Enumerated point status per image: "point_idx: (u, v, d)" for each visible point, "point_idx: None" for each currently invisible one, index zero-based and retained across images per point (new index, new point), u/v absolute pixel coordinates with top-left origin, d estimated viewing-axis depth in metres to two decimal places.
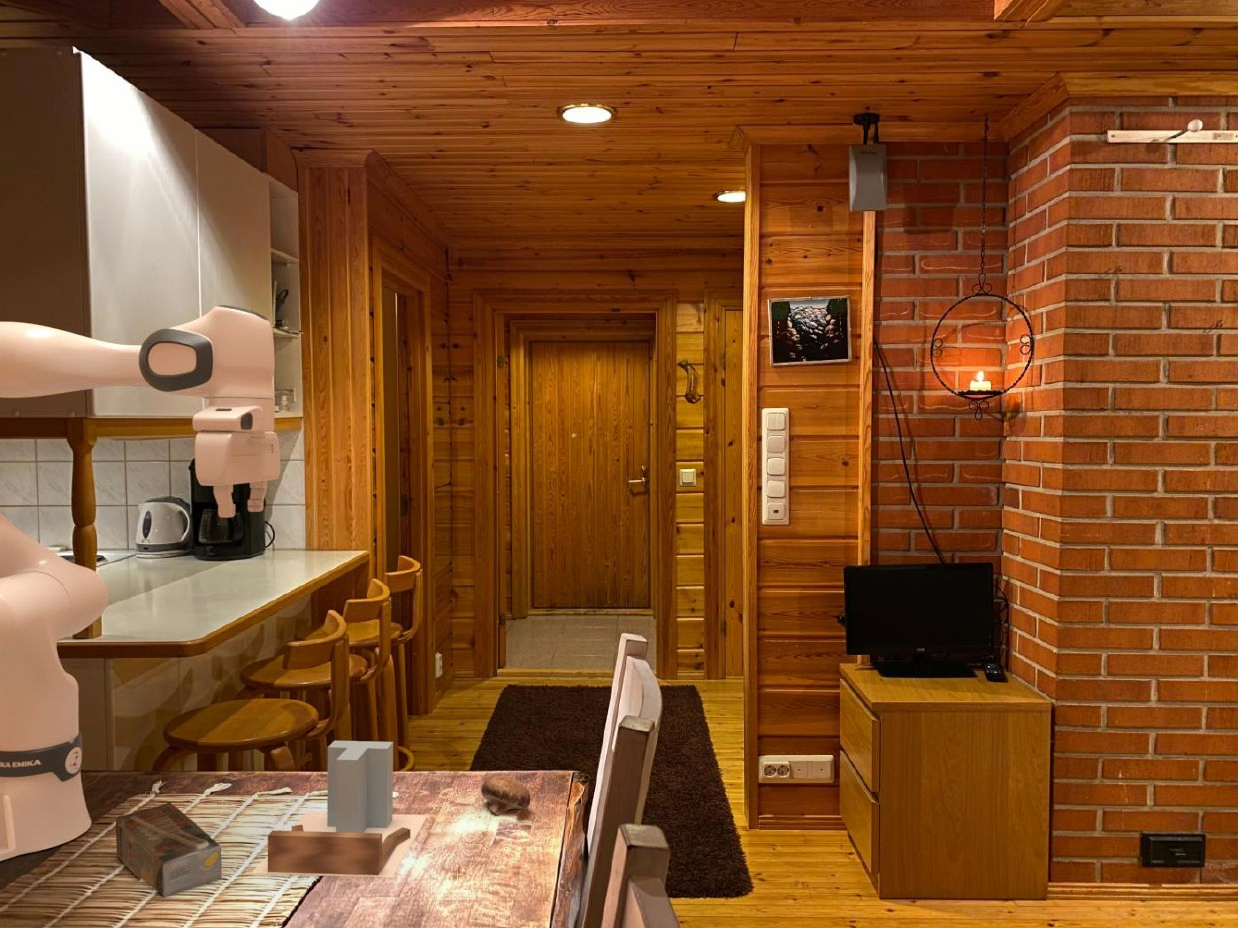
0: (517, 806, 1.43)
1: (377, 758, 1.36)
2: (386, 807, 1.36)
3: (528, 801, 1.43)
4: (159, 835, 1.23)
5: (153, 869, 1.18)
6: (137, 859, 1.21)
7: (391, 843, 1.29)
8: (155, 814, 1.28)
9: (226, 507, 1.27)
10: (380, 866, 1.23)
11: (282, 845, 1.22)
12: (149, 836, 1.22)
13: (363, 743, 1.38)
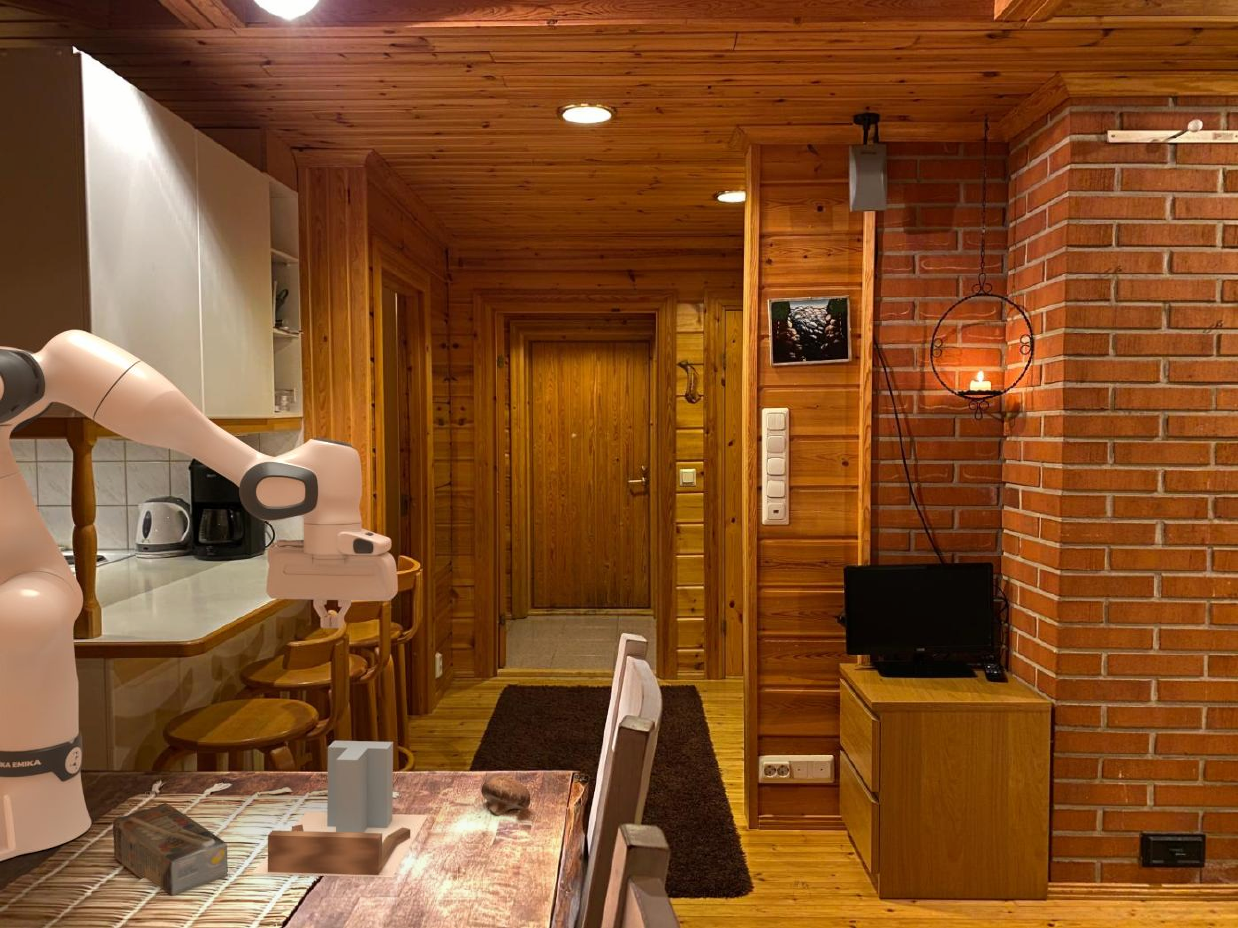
0: (517, 806, 1.43)
1: (377, 758, 1.36)
2: (386, 807, 1.36)
3: (528, 801, 1.43)
4: (162, 834, 1.23)
5: (159, 868, 1.18)
6: (140, 859, 1.21)
7: (391, 843, 1.29)
8: (154, 814, 1.28)
9: (342, 618, 1.45)
10: (380, 866, 1.23)
11: (282, 845, 1.22)
12: (152, 836, 1.22)
13: (363, 743, 1.38)
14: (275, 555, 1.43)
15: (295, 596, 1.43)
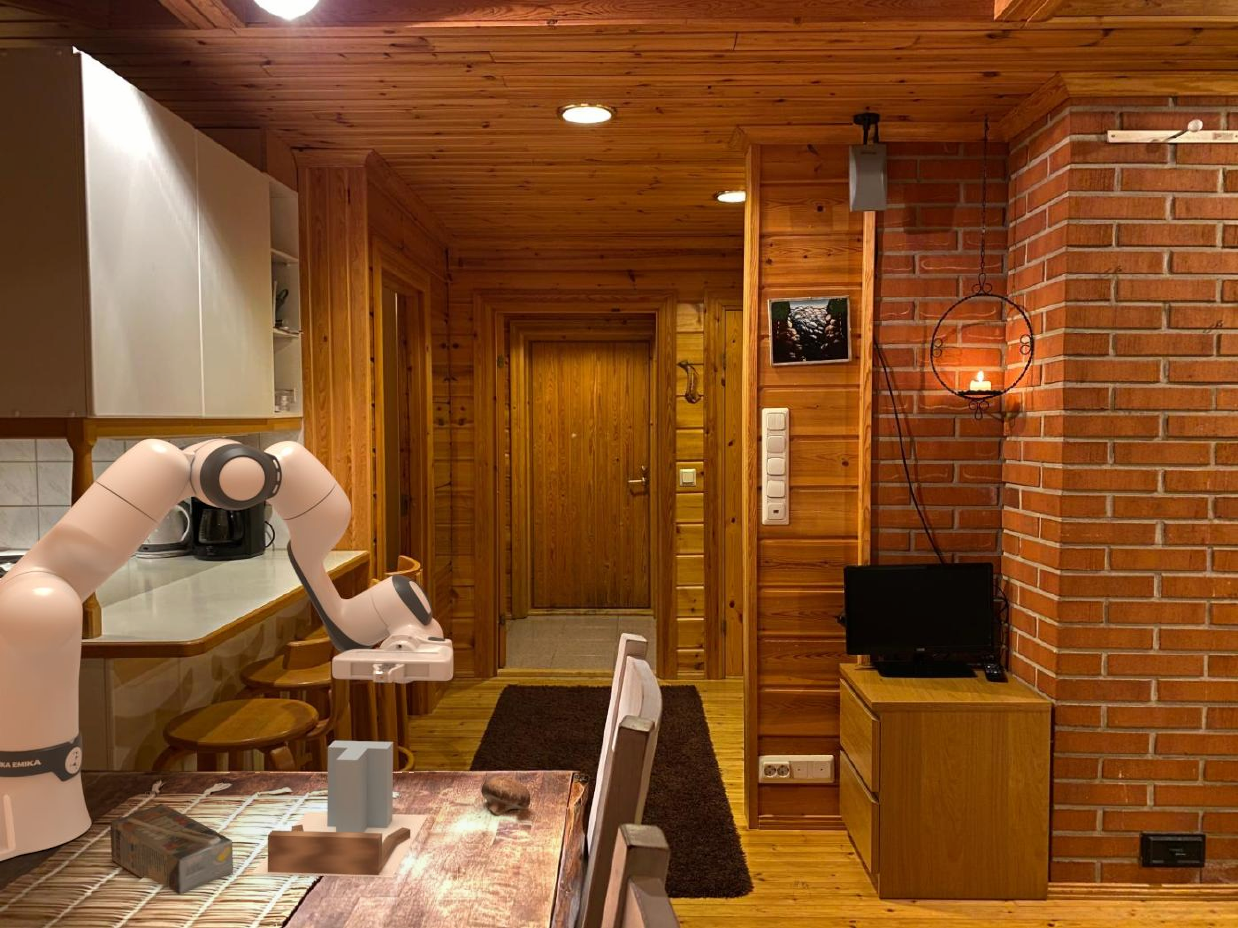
0: (517, 806, 1.43)
1: (377, 758, 1.36)
2: (386, 807, 1.36)
3: (528, 801, 1.43)
4: (164, 834, 1.23)
5: (165, 867, 1.18)
6: (143, 860, 1.21)
7: (391, 843, 1.29)
8: (153, 815, 1.28)
9: (392, 676, 1.49)
10: (380, 866, 1.23)
11: (282, 845, 1.22)
12: (155, 836, 1.22)
13: (363, 743, 1.38)
14: (352, 649, 1.60)
15: (359, 658, 1.53)
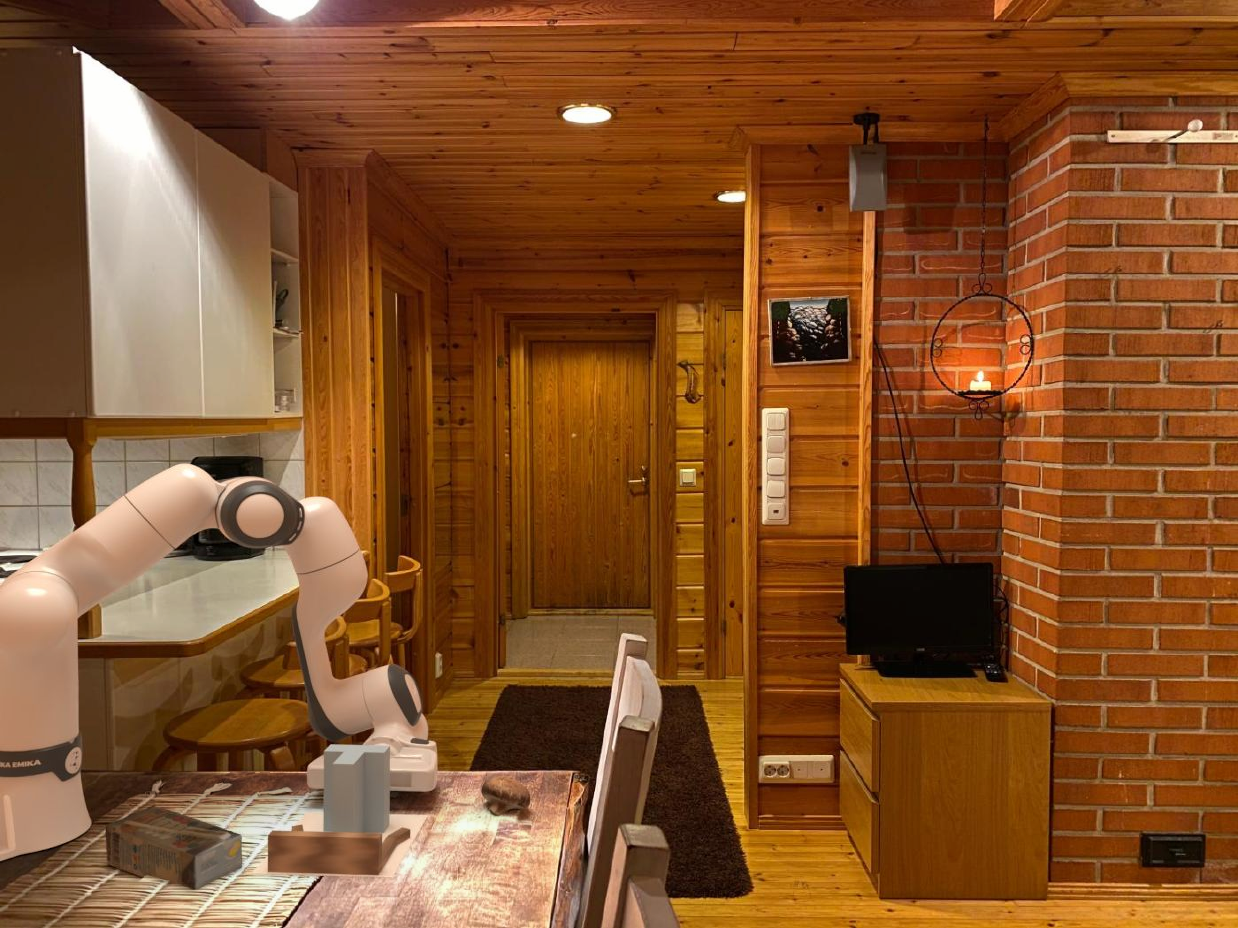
0: (517, 806, 1.43)
1: (374, 762, 1.34)
2: (383, 812, 1.35)
3: (528, 801, 1.43)
4: (169, 833, 1.23)
5: (176, 865, 1.19)
6: (149, 860, 1.21)
7: (391, 843, 1.29)
8: (150, 816, 1.27)
9: None
10: (380, 866, 1.23)
11: (282, 845, 1.22)
12: (160, 836, 1.22)
13: (360, 746, 1.36)
14: None
15: None
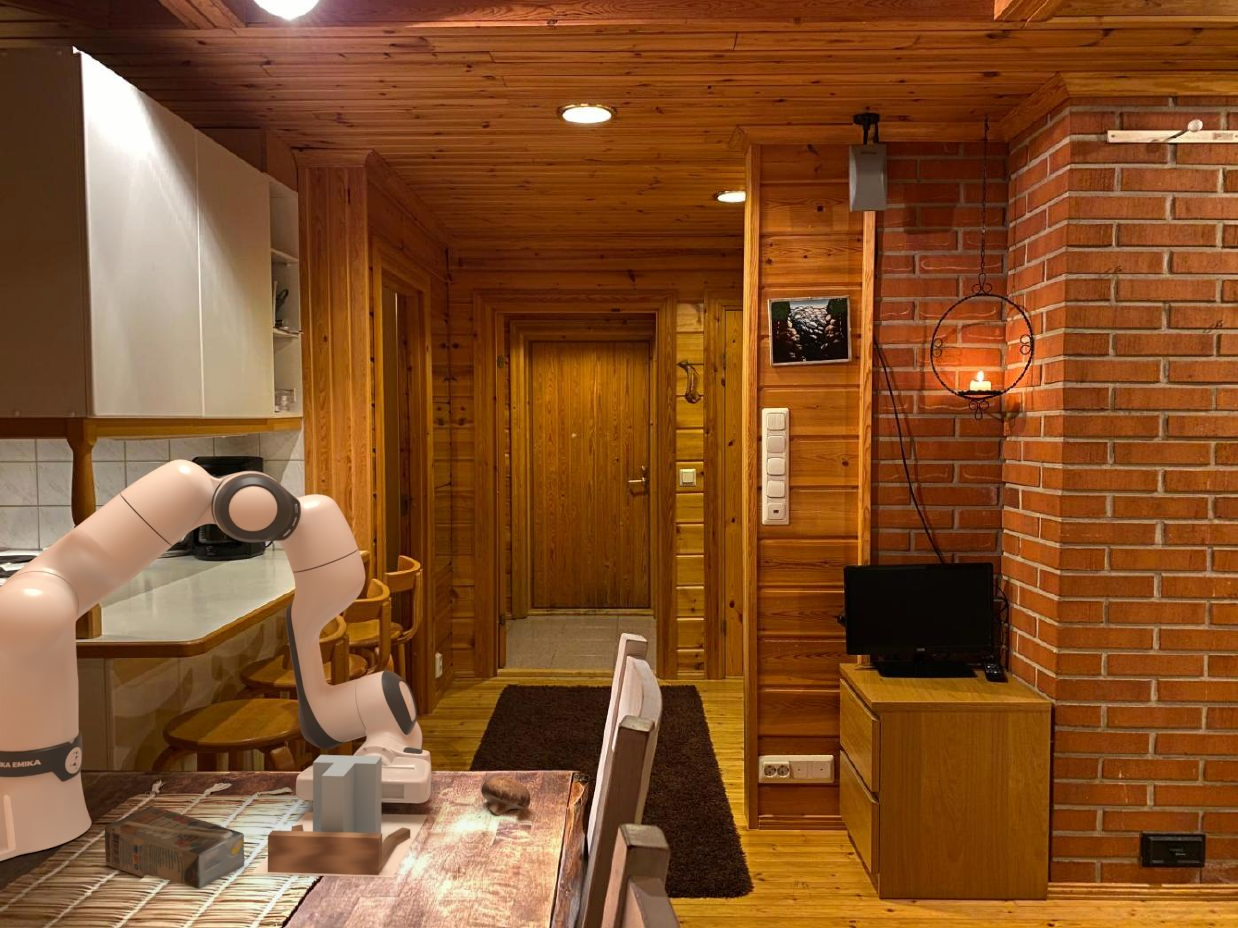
0: (517, 806, 1.43)
1: (365, 773, 1.30)
2: (374, 825, 1.30)
3: (528, 801, 1.43)
4: (170, 833, 1.23)
5: (179, 864, 1.19)
6: (151, 860, 1.21)
7: (391, 843, 1.29)
8: (149, 816, 1.27)
9: None
10: (380, 866, 1.23)
11: (282, 845, 1.22)
12: (161, 836, 1.22)
13: (350, 757, 1.32)
14: None
15: None
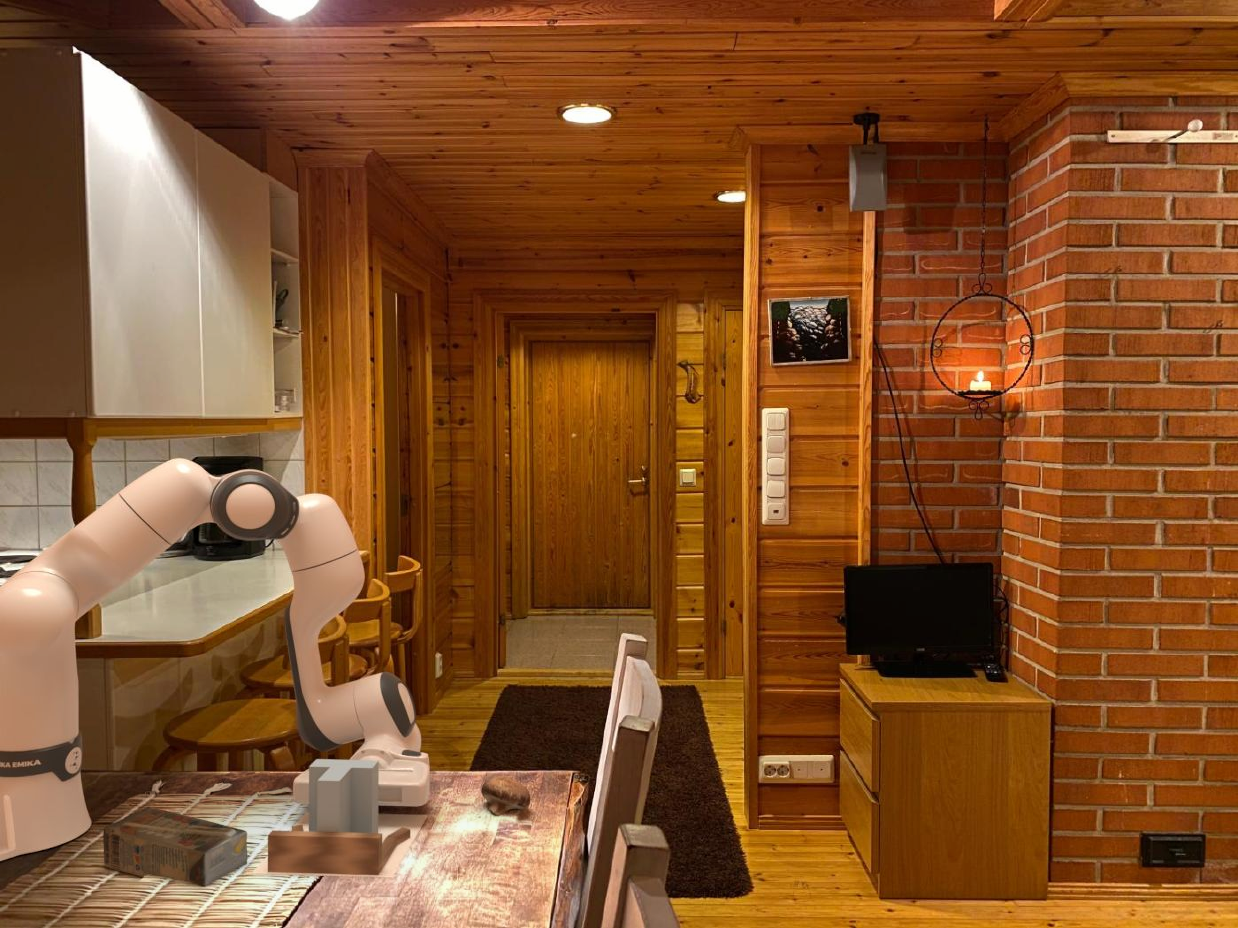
0: (517, 806, 1.43)
1: (362, 778, 1.28)
2: (371, 830, 1.28)
3: (528, 801, 1.43)
4: (172, 832, 1.23)
5: (184, 863, 1.19)
6: (153, 859, 1.21)
7: (391, 843, 1.29)
8: (148, 817, 1.27)
9: None
10: (380, 866, 1.23)
11: (282, 845, 1.22)
12: (163, 836, 1.22)
13: (347, 761, 1.30)
14: None
15: None
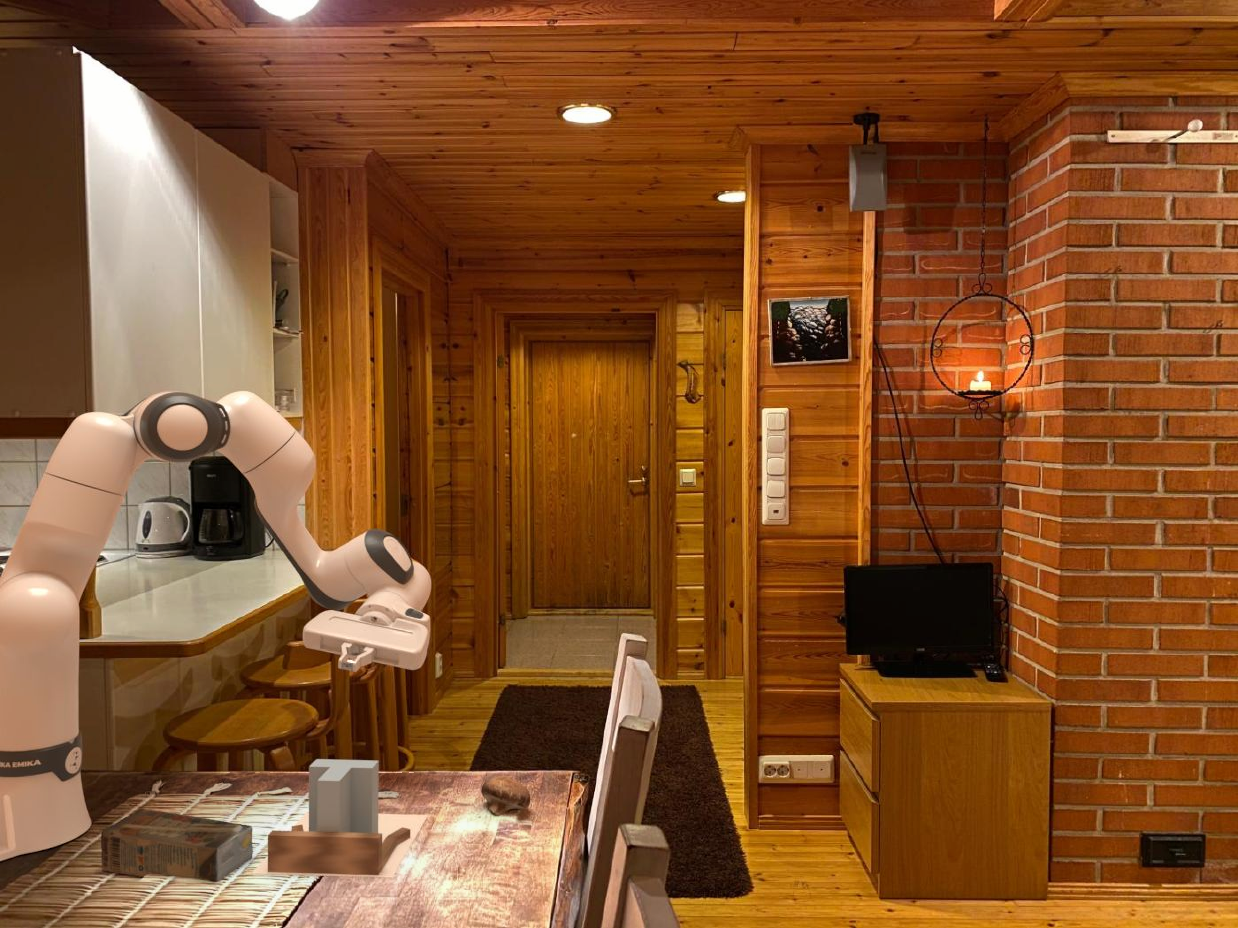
0: (517, 806, 1.43)
1: (362, 778, 1.28)
2: (371, 830, 1.28)
3: (528, 801, 1.43)
4: (175, 832, 1.24)
5: (193, 860, 1.20)
6: (159, 859, 1.21)
7: (391, 843, 1.29)
8: (146, 818, 1.26)
9: (359, 664, 1.44)
10: (380, 866, 1.23)
11: (282, 845, 1.22)
12: (168, 835, 1.23)
13: (347, 761, 1.30)
14: (328, 610, 1.54)
15: (329, 633, 1.48)
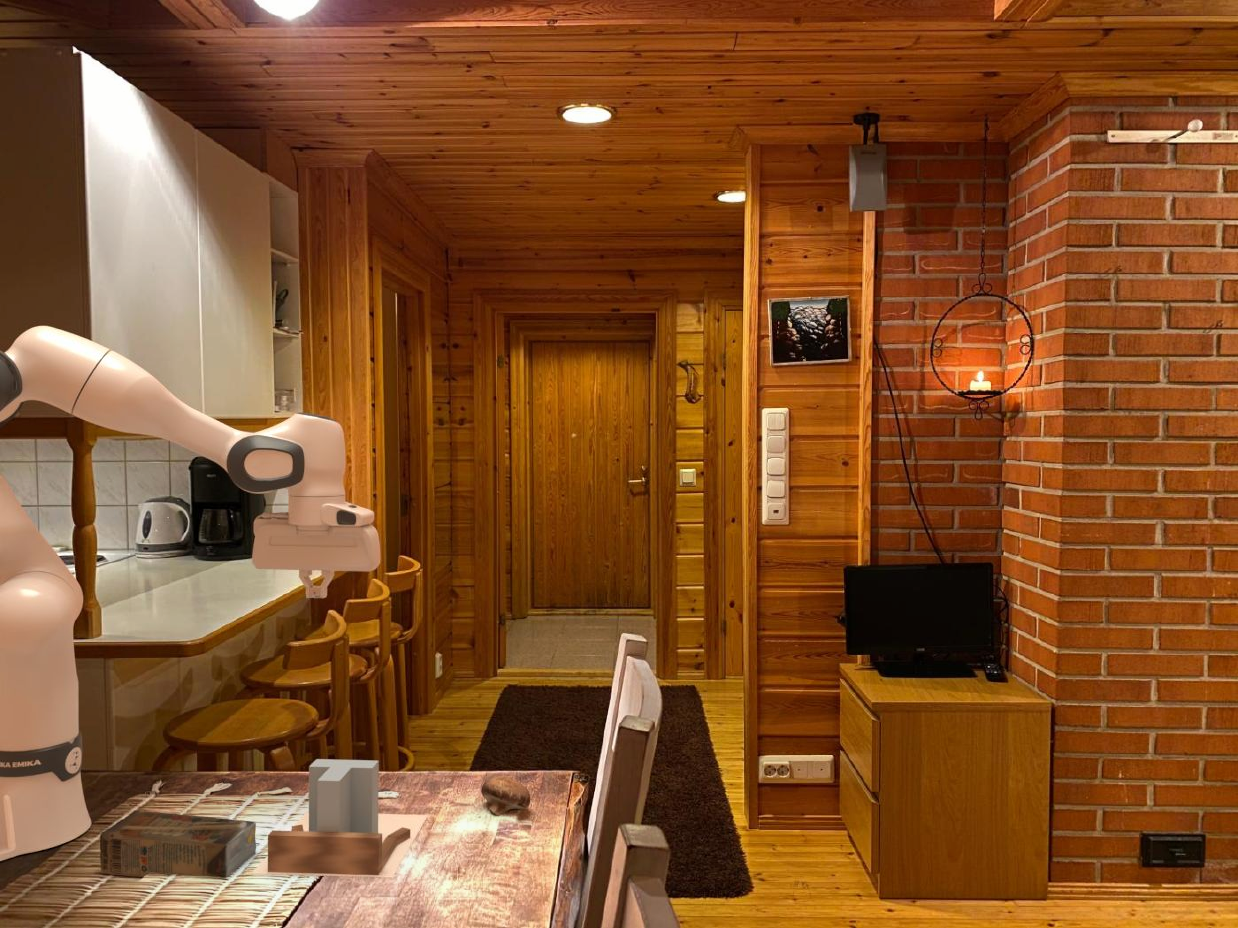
0: (517, 806, 1.43)
1: (362, 778, 1.28)
2: (371, 830, 1.28)
3: (528, 801, 1.43)
4: (178, 831, 1.24)
5: (200, 858, 1.21)
6: (164, 858, 1.21)
7: (391, 843, 1.29)
8: (144, 819, 1.26)
9: (325, 589, 1.49)
10: (380, 866, 1.23)
11: (282, 845, 1.22)
12: (171, 834, 1.23)
13: (347, 761, 1.30)
14: (261, 527, 1.47)
15: (280, 567, 1.47)
